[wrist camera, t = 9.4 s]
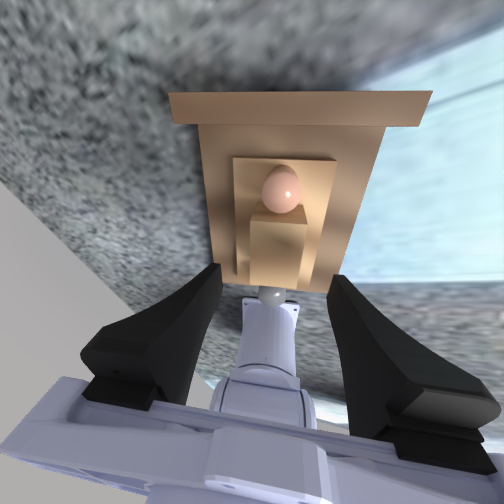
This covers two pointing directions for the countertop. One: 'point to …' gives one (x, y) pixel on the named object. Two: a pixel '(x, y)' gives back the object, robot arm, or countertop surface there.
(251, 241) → the wooden stand
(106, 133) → the countertop surface
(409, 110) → the light wood stepped block
